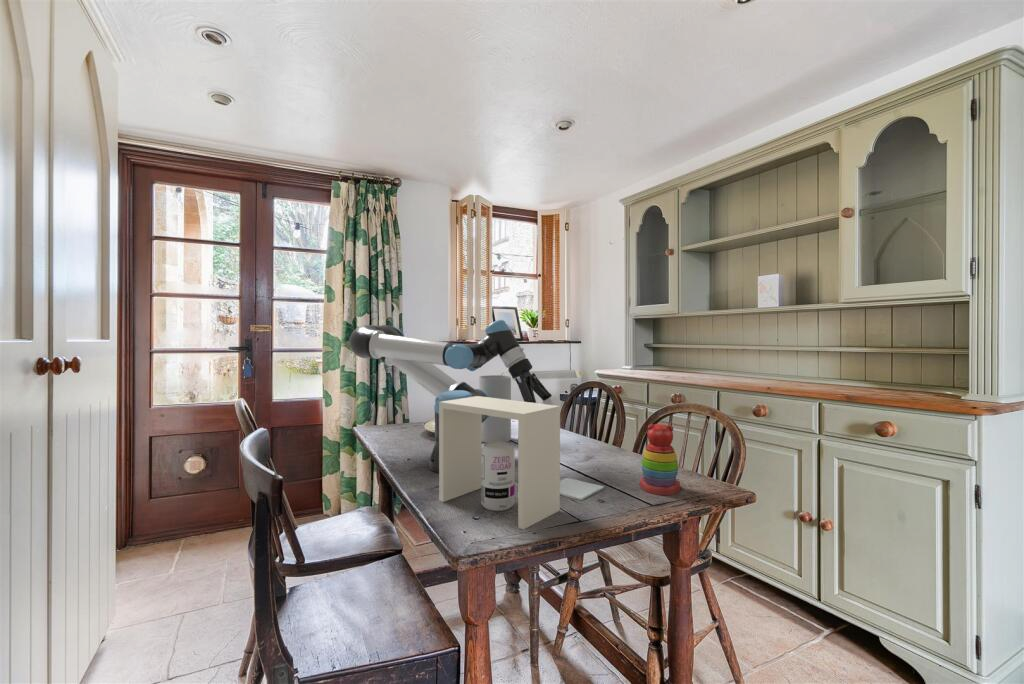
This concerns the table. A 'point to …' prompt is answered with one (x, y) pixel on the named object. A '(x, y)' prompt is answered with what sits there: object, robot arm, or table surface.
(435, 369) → the robot arm
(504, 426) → the cylinder vase
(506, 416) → the tunnel
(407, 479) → the table surface
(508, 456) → the supplement can
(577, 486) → the tile
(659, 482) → the stacking bear
